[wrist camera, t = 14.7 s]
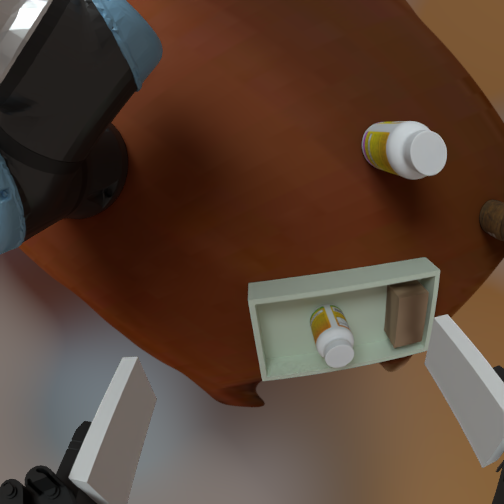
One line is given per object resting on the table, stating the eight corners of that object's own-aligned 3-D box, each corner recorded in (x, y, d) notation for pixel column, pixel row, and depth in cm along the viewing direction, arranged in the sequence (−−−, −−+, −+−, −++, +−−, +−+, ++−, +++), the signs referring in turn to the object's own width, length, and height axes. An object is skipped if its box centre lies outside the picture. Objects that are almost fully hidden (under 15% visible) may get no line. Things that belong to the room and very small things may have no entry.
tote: (261, 361, 52) (262, 381, 47) (248, 283, 47) (247, 300, 42) (416, 334, 50) (427, 350, 46) (425, 257, 45) (440, 270, 40)
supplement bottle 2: (378, 178, 41) (421, 198, 29) (350, 139, 39) (389, 144, 27) (411, 151, 39) (463, 162, 27) (386, 112, 37) (434, 109, 25)
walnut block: (383, 330, 49) (394, 347, 44) (387, 282, 46) (399, 298, 41) (410, 324, 49) (421, 341, 44) (415, 277, 46) (429, 292, 41)
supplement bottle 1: (309, 333, 49) (319, 374, 40) (308, 305, 47) (319, 344, 38) (342, 329, 49) (358, 368, 40) (343, 300, 47) (360, 337, 38)
